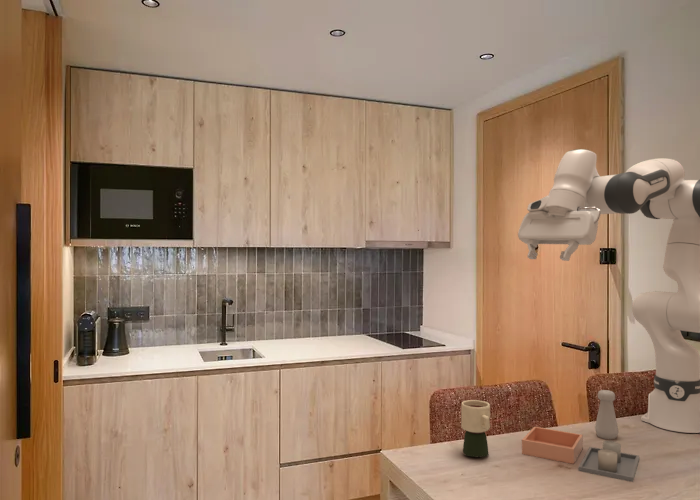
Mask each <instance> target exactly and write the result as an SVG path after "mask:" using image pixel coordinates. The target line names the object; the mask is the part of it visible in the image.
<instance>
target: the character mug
mask: <svg viewBox="0 0 700 500" xmlns="http://www.w3.org/2000/svg"><path fill="white" fill-rule="evenodd" d="M460 404H461V412H460V414H461V423H460V424H461V429H462V430H463V431H465V433H464V438H463V444H462V445H463V447H462V452H463V455H465V456H468V457H474V458H475V457H477V458H481V457H488V456H489V444H488V439H487V434H486V432H488V431H489V430H490V428H491V423H490V418H491V404H490V403H489V402H488V401H483V400H478V399H472V400H471V399H470V400H469V399H468V400H463V401H462V402H461V403H460Z"/></svg>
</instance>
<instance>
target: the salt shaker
mask: <svg viewBox="0 0 700 500" xmlns="http://www.w3.org/2000/svg"><path fill="white" fill-rule="evenodd" d="M597 398H598V400H599V401H600V402H599V406H598V412H597V416H596V420H595V421H596V422H595V426H594V430H595V433H596V435H597V438H598V437H599V438H600V439H603V440H608V441H613V440H615V439H616V438H617V437H618V435H619V426H618V421H617V418H616V416H617V415H616V412H615V407H614V401H615V400H616V394H615V392H614V391H612V390H607V389H600V390H599V391H597Z"/></svg>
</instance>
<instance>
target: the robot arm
mask: <svg viewBox="0 0 700 500" xmlns="http://www.w3.org/2000/svg"><path fill="white" fill-rule="evenodd" d="M597 158H598V155H597V153H595V152H594V151H592V150H590V149H584V148H576V149H571V150H568V151H566V152H565V153H564V154H563V155H562V157H561V159H560V161H559V163H558V167H557V169H556V171H555V174H554V177H553V185H552V188H550V190H549V192H548V195H545V196H543V197H542V198H540V199H538V200H535V201H532V202H530V203H528V205H527V211H528V212H527V213H526V214H525V215H524V217H523V218H522V221H521V223H520V226H519V228H518V232H517V238H518V239H519V240H520V241H521V242H523V243H524V244H525V245H526V246H527V250H528V253H527V259H530V260H537V257H538V255H539V254H538V252H536V248H537V247H538V245H567V247H566V249H565V250H561V252H560V255H559V258H560V259H559V260H562V261H565V262H569V261H570V258H571V256H572V255H573V253H575V252H576V251H577V249H578V248H579V245H580V246H581V245H584V246H585V245H590V246H591V245H592V244H593V243H594V242H595V241H596V239H597V234H598V227H599V220H600V218H601V215H609V214H626V215H628V214H629V215H630V214H631V215H632V214H635V213H637V212H638V211H640V212H641V214H643V216H644V217H646V218H649V219H653V220H661V219H662V220H673V222H672V225H671V227H670V231H669V233H668V238H667V242H666V248H665V253H664V260H663V265H662V269H663V272H664V273H665V275H666V276H667V277H669V278H670V279H672V280H673V281H675V282H676V283H677V292H675V291H674V292H673V291H672V292H671V291H661V290H659V291H658V290H655V291H647V292H641V293H639V294H638V295H637V296H636V297H635V298H634V300H633V302H632V306H631V311H632V312H631V313H632V315H633V318H634V319H635V320H636V322H638V323H639V324H640V325H641V326H642V327H643V328H644V329H645V331H646V332H647V334H648V335H649V338H650V339H651V342H652V344H653V348H654V355H655V375H654V378H653V386H654V389H653V390H652V391H650V393H648V399H647V400H648V403H647V404H648V405H647V412H646V413H644V414H643V415H641V418H640V420H641V421H643V422H646V423H648V424H651V425H653V426H655V427H657V428H660V429H664V430H667V431H671V432H679V433H688V434H689V433H691V434H696V433H697V434H698V433H700V353H699V351H698V349H697V348H696V347H695V346H693V345H692V344H690V343H689V342H687V341H686V340H685V338H684V336H683V335H682V332H681V331H683V332H691V333H698V334H700V179H685V176H686V174H685V173H686V172H685V169H684V166H683V165H682V164H681V163H680V162H679V161H677V160H676V159H673V158H665V157H663V158H662V157H661V158H651V159H647V160H643V161H641V162H638V163H636V164H634V165H631V166H630V167H629V168H627V170H626V171H625V172H621V173H617V174H609V175H602V176H600V174H599V173H598V170H597V169H598V168H597V160H598V159H597Z"/></svg>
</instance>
